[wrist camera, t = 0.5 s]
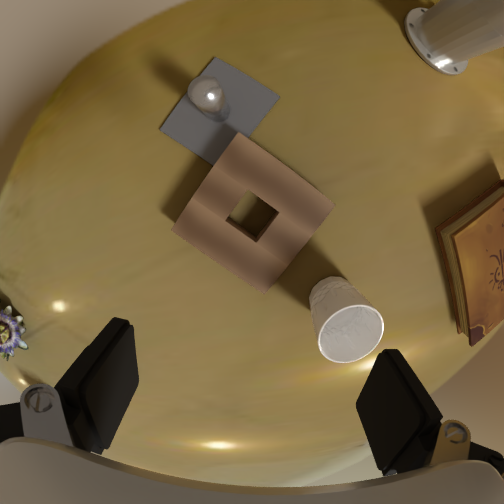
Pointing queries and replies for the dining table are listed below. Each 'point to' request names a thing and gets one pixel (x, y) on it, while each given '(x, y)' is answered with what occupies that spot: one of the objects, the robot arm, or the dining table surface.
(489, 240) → the diary
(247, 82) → the mat
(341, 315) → the white cup
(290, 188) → the hole block
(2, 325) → the green leafy plant
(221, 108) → the peg
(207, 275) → the dining table surface
